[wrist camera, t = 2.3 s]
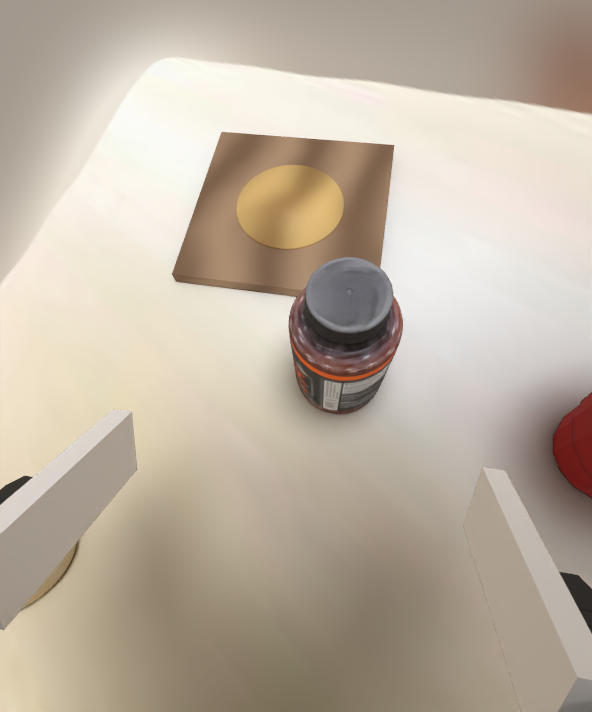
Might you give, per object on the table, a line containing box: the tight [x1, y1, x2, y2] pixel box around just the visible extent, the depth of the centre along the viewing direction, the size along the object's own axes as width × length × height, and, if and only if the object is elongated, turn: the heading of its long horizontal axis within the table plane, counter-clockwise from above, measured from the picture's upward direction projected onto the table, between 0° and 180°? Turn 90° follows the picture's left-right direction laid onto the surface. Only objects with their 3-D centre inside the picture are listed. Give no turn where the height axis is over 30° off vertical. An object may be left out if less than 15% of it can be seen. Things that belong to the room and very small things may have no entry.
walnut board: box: [172, 132, 394, 296], centre depth 33 cm, size 16×16×1 cm
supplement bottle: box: [289, 257, 403, 413], centre depth 23 cm, size 6×6×11 cm
